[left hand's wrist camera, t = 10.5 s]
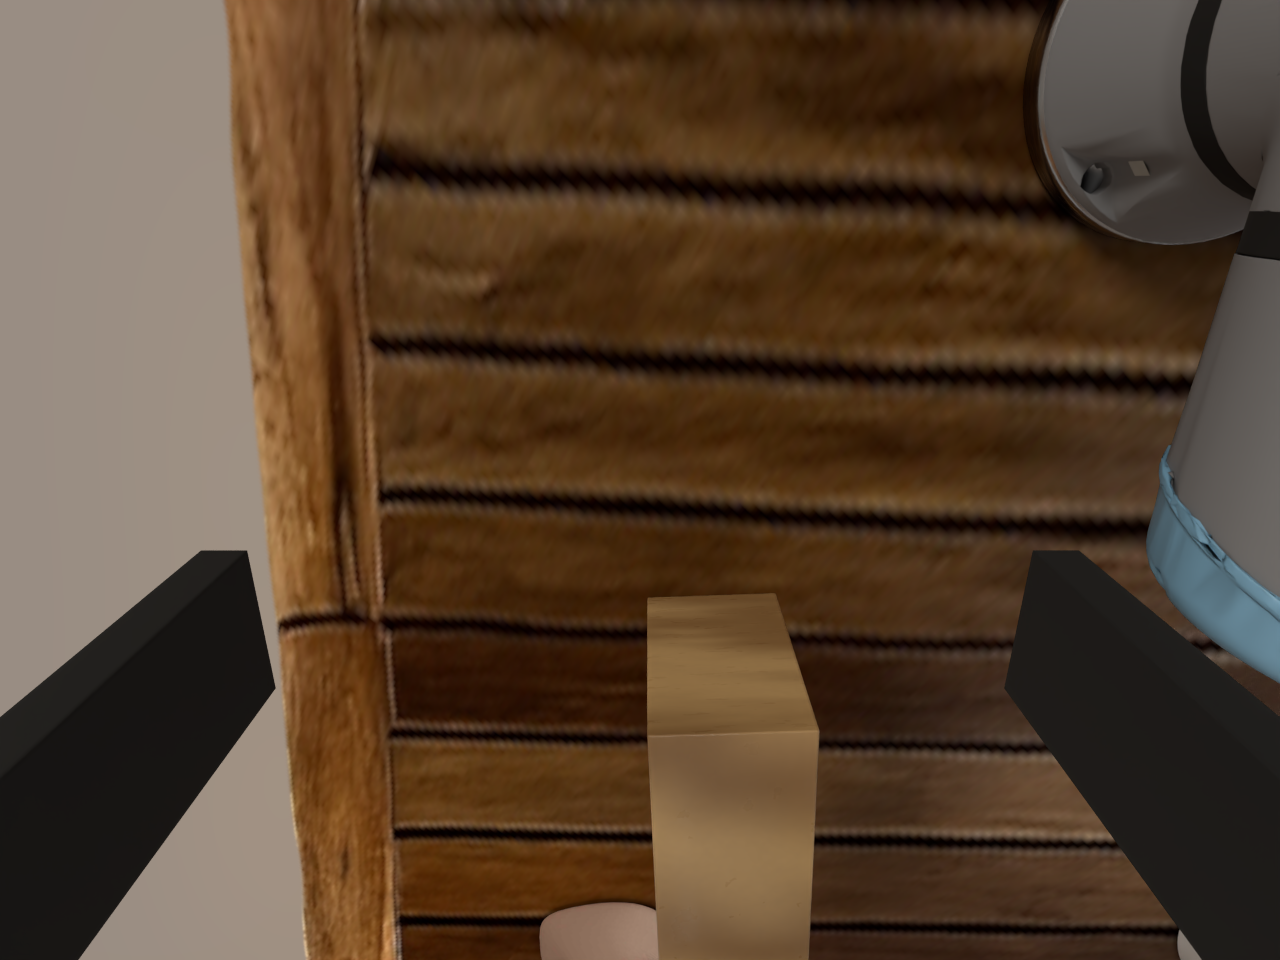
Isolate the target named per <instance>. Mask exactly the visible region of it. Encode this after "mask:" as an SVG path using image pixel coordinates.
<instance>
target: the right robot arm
mask: <svg viewBox="0 0 1280 960" xmlns="http://www.w3.org/2000/svg"><path fill="white" fill-rule="evenodd" d="M1177 946H1178V953H1179V957H1180V959H1181V960H1201V958H1200V957H1199V955H1198V954H1197V953H1196V951H1195V950H1194V948H1193V947H1192V946H1191V944H1190V943H1189V942H1188V940H1187V939H1186V937H1185V936H1184V935H1183V933H1182V932H1181V931H1180V930H1179V933H1178V941H1177Z"/></svg>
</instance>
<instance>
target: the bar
mask: <svg viewBox="0 0 1280 960" xmlns="http://www.w3.org/2000/svg"><path fill="white" fill-rule="evenodd" d="M647 740H648V759H649V779H650V799H651V818H652V838H653V858H654V878H655V897H656V917H657V937H658V956H659V960H809V939H810V918H811V897H812V877H813V856H814V835H815V814H816V793H817V772H818V751H819V728H818V725H817V722H816V719H815V716H814V712H813V709H812V706H811V703H810V700H809V697H808V694H807V690H806V687H805V684H804V681H803V678H802V675H801V672H800V669H799V665H798V662H797V659H796V656H795V653H794V650H793V647H792V643H791V640H790V637H789V634H788V631H787V628H786V625H785V621H784V618H783V615H782V612H781V609H780V606H779V603H778V599H777V596H776V594H775V593H770V594H741V595H712V596H683V597H654V598H648V599H647Z"/></svg>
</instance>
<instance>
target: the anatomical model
mask: <svg viewBox="0 0 1280 960" xmlns="http://www.w3.org/2000/svg"><path fill="white" fill-rule="evenodd" d="M540 949H541V957H542V960H659V956H658V937H657V917H656V910H654V909H652V908H649V907H646V906H643V905H640V904H635V903H626V902H608V903H596V904H588V905H582V906H577V907H572V908H568V909H564V910H560V911H557V912H555V913H553V914H550V915H549V916H548V917H546V918H545V919H544V921H543V922H542V924H541V928H540Z"/></svg>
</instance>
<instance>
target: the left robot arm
mask: <svg viewBox="0 0 1280 960" xmlns="http://www.w3.org/2000/svg"><path fill="white" fill-rule="evenodd" d="M1023 115H1024V127H1025V133H1026V140H1027V144H1028V147H1029V151H1030V155H1031V158H1032V160H1033V163H1034V166H1035V168H1036V171H1037V173H1038V175H1039V177H1040V179H1041V180H1042V182H1043V184H1044V186H1045V187H1046V189H1047V190H1048V192H1049V193H1050V195H1051V196H1052V197H1053V198H1054V199H1055V201H1056V202H1057V203H1058V204H1059V205H1060V206H1061V207H1062V208H1063V209H1064V210H1065V211H1066V212H1067V213H1068V214H1069V215H1070V216H1072V217H1073V218H1075V219H1076V220H1077V221H1079V222H1080V223H1081V224H1083V225H1085V226H1087V227H1089V228H1090V229H1092V230H1094V231H1097V232H1099V233H1102V234H1104V235H1106V236H1110V237H1114V238H1117V239H1121V240H1127V241H1134V242H1142V243H1151V244H1164V245H1181V244H1192V243H1199V242H1205V241H1209V240H1213V239H1217V238H1221V237H1224V236H1227V235H1230V234H1233V233H1235V232H1238V231H1240V230H1242V229H1244V230H1243V233H1242V236H1241V239H1240V242H1239V245H1238V248H1237V251H1236V253H1235V254H1234V256H1233V260H1232V263H1231V266H1230V269H1229V272H1228V275H1227V278H1226V281H1225V284H1224V287H1223V291H1222V294H1221V297H1220V300H1219V303H1218V306H1217V309H1216V312H1215V315H1214V318H1213V321H1212V325H1211V328H1210V331H1209V334H1208V337H1207V340H1206V343H1205V346H1204V349H1203V352H1202V356H1201V359H1200V362H1199V365H1198V368H1197V371H1196V374H1195V377H1194V380H1193V383H1192V387H1191V390H1190V393H1189V395H1188V398H1187V401H1186V404H1185V407H1184V410H1183V413H1182V415H1181V418H1180V421H1179V424H1178V427H1177V430H1176V433H1175V436H1174V438H1173V441H1172V444H1171V445H1169V446H1168V447H1167V449H1166V450H1165V452H1164V454H1163V457H1162V460H1161V462H1160V464H1159V478H1160V486H1159V490H1158V495H1157V499H1156V503H1155V507H1154V511H1153V515H1152V518H1151V522H1150V525H1149V529H1148V534H1147V540H1146V544H1147V548H1146V550H1147V556H1148V561H1149V565H1150V568H1151V570H1152V572H1153V574H1154V575H1155V577H1156V579H1157V581H1158V583H1159V584H1160V585H1161V586H1162V587H1163V588H1164V589H1165V591H1166V595H1167V596H1168V598H1169V600H1170V601H1171V602H1172V604H1173V605H1174V606H1175V607H1176V608H1177V609H1178V610H1179V611H1180V612H1181V613H1182V614H1183V615H1184V616H1185V617H1186V618H1187V619H1188V620H1189V621H1190V622H1191V623H1192V624H1193V625H1194V626H1195V627H1197V628H1198V629H1199V630H1200V631H1201V632H1203V633H1204V634H1205V635H1206V636H1207V637H1209V638H1210V639H1211V640H1213V641H1214V642H1215V643H1216V644H1218V645H1219V646H1220V647H1222V648H1223V649H1225V650H1226V651H1228V652H1229V653H1230V654H1232V655H1233V656H1235V657H1237V658H1238V659H1240V660H1241V661H1243V662H1244V663H1246V664H1248V665H1249V666H1251V667H1252V668H1254V669H1256V670H1257V671H1259V672H1261V673H1262V674H1264V675H1266V676H1268V677H1269V678H1271V679H1273V680H1275V681H1276V682H1278V683H1280V0H1050V2H1049V4H1048V6H1047V8H1046V10H1045V12H1044V14H1043V16H1042V19H1041V21H1040V24H1039V26H1038V29H1037V32H1036V34H1035V37H1034V40H1033V44H1032V47H1031V51H1030V54H1029V59H1028V64H1027V68H1026V74H1025V82H1024V93H1023ZM274 690H275V683H274V678H273V673H272V668H271V664H270V659H269V654H268V649H267V644H266V640H265V635H264V630H263V625H262V620H261V616H260V611H259V606H258V601H257V596H256V591H255V587H254V582H253V577H252V572H251V568H250V563H249V558H248V553H247V551H200V552H199V553H198V554H196V555H195V556H194V557H193V558H192V559H190V560H189V561H188V562H187V563H186V564H184V565H183V566H182V567H181V568H180V569H178V570H177V571H176V572H175V573H174V574H172V575H171V576H170V577H169V578H168V579H166V580H165V581H164V582H163V583H161V584H160V585H159V586H158V587H157V588H155V589H154V590H153V591H152V592H151V593H149V594H148V595H147V596H146V597H145V598H143V599H142V600H141V601H140V602H139V603H137V604H136V605H135V606H134V607H132V608H131V609H130V610H129V611H128V612H126V613H125V614H124V615H123V616H122V617H120V618H119V619H118V620H117V621H116V622H114V623H113V624H112V625H111V626H110V627H108V628H107V629H106V630H105V631H104V632H102V633H101V634H100V635H99V636H98V637H96V638H95V639H94V640H93V641H91V642H90V643H89V644H88V645H87V646H85V647H84V648H83V649H82V650H81V651H79V652H78V653H77V654H76V655H75V656H73V657H72V658H71V659H70V660H69V661H67V662H66V663H65V664H64V665H63V666H61V667H60V668H59V669H58V670H57V671H55V672H54V673H53V674H52V675H51V676H49V677H48V678H47V679H46V680H44V681H43V682H42V683H41V684H40V685H38V686H37V687H36V688H35V689H34V690H32V691H31V692H30V693H29V694H28V695H26V696H25V697H24V698H23V699H22V700H20V701H19V702H18V703H17V704H16V705H14V706H13V707H12V708H11V709H9V710H8V711H7V712H6V713H5V714H3V715H2V716H1V717H0V960H78V959H79V958H80V957H81V955H82V954H83V953H84V951H85V950H86V948H87V947H88V946H89V944H90V943H91V941H92V940H93V939H94V937H95V936H96V935H97V933H98V932H99V931H100V929H101V928H102V926H103V925H104V924H105V922H106V921H107V920H108V918H109V917H110V915H111V914H112V913H113V911H114V910H115V909H116V907H117V906H118V904H119V903H120V902H121V900H122V899H123V898H124V896H125V895H126V893H127V892H128V891H129V889H130V888H131V886H132V885H133V884H134V882H135V881H136V880H137V878H138V877H139V876H140V874H141V873H142V871H143V870H144V869H145V867H146V866H147V865H148V863H149V862H150V860H151V859H152V858H153V856H154V855H155V854H156V852H157V851H158V849H159V848H160V847H161V845H162V844H163V843H164V841H165V840H166V838H167V837H168V836H169V834H170V833H171V831H172V830H173V829H174V827H175V826H176V825H177V823H178V822H179V821H180V819H181V818H182V816H183V815H184V814H185V812H186V811H187V809H188V808H189V807H190V805H191V804H192V803H193V801H194V800H195V798H196V797H197V796H198V794H199V793H200V792H201V790H202V789H203V787H204V786H205V785H206V783H207V782H208V780H209V779H210V778H211V776H212V775H213V774H214V772H215V771H216V770H217V768H218V767H219V765H220V764H221V763H222V761H223V760H224V759H225V757H226V756H227V754H228V753H229V752H230V750H231V749H232V748H233V746H234V745H235V743H236V742H237V741H238V739H239V738H240V737H241V735H242V734H243V732H244V731H245V730H246V728H247V727H248V726H249V724H250V723H251V721H252V720H253V719H254V717H255V716H256V714H257V713H258V712H259V710H260V709H261V708H262V706H263V705H264V703H265V702H266V701H267V699H268V698H269V697H270V695H271V694H272V692H273V691H274ZM1005 690H1006V691H1007V693H1008V694H1009V695H1010V697H1011V698H1012V699H1013V701H1014V702H1015V704H1016V705H1017V706H1018V708H1019V709H1020V710H1021V712H1022V713H1023V715H1024V716H1025V717H1026V719H1027V720H1028V721H1029V723H1030V724H1031V726H1032V727H1033V728H1034V730H1035V731H1036V732H1037V734H1038V735H1039V737H1040V738H1041V739H1042V741H1043V742H1044V743H1045V745H1046V746H1047V748H1048V749H1049V750H1050V752H1051V753H1052V754H1053V756H1054V757H1055V759H1056V760H1057V761H1058V763H1059V764H1060V765H1061V767H1062V768H1063V770H1064V771H1065V772H1066V774H1067V775H1068V776H1069V778H1070V779H1071V781H1072V782H1073V783H1074V785H1075V786H1076V787H1077V789H1078V790H1079V792H1080V793H1081V794H1082V796H1083V797H1084V798H1085V800H1086V801H1087V803H1088V804H1089V805H1090V807H1091V808H1092V809H1093V811H1094V812H1095V814H1096V815H1097V816H1098V818H1099V819H1100V821H1101V822H1102V823H1103V825H1104V826H1105V827H1106V829H1107V830H1108V832H1109V833H1110V834H1111V836H1112V837H1113V838H1114V840H1115V841H1116V843H1117V844H1118V845H1119V847H1120V848H1121V849H1122V851H1123V852H1124V854H1125V855H1126V856H1127V858H1128V859H1129V860H1130V862H1131V863H1132V865H1133V866H1134V867H1135V869H1136V870H1137V871H1138V873H1139V874H1140V876H1141V877H1142V878H1143V880H1144V881H1145V882H1146V884H1147V885H1148V887H1149V888H1150V889H1151V891H1152V892H1153V893H1154V895H1155V896H1156V898H1157V899H1158V900H1159V902H1160V903H1161V904H1162V906H1163V907H1164V909H1165V910H1166V911H1167V913H1168V914H1169V915H1170V917H1171V918H1172V920H1173V921H1174V922H1175V924H1176V925H1177V926H1178V928H1179V929H1180V931H1181V932H1182V933H1183V935H1184V936H1185V937H1186V939H1187V940H1188V942H1189V943H1190V944H1191V946H1192V947H1193V948H1194V950H1195V951H1196V953H1197V954H1198V955H1199V957H1200V958H1201V960H1280V717H1279V716H1278V715H1277V714H1275V713H1274V712H1273V711H1272V710H1271V709H1269V708H1268V707H1267V706H1266V705H1264V704H1263V703H1262V702H1261V701H1260V700H1258V699H1257V698H1256V697H1255V696H1254V695H1252V694H1251V693H1250V692H1249V691H1248V690H1246V689H1245V688H1244V687H1243V686H1242V685H1240V684H1239V683H1238V682H1237V681H1236V680H1234V679H1233V678H1232V677H1231V676H1230V675H1228V674H1227V673H1226V672H1225V671H1223V670H1222V669H1221V668H1220V667H1219V666H1217V665H1216V664H1215V663H1214V662H1213V661H1211V660H1210V659H1209V658H1208V657H1207V656H1205V655H1204V654H1203V653H1202V652H1201V651H1199V650H1198V649H1197V648H1196V647H1195V646H1193V645H1192V644H1191V643H1190V642H1189V641H1187V640H1186V639H1185V638H1184V637H1182V636H1181V635H1180V634H1179V633H1178V632H1176V631H1175V630H1174V629H1173V628H1172V627H1170V626H1169V625H1168V624H1167V623H1166V622H1164V621H1163V620H1162V619H1161V618H1160V617H1158V616H1157V615H1156V614H1155V613H1154V612H1152V611H1151V610H1150V609H1149V608H1148V607H1146V606H1145V605H1144V604H1143V603H1141V602H1140V601H1139V600H1138V599H1137V598H1135V597H1134V596H1133V595H1132V594H1131V593H1129V592H1128V591H1127V590H1126V589H1125V588H1123V587H1122V586H1121V585H1120V584H1119V583H1117V582H1116V581H1115V580H1114V579H1113V578H1111V577H1110V576H1109V575H1108V574H1106V573H1105V572H1104V571H1103V570H1102V569H1100V568H1099V567H1098V566H1097V565H1096V564H1094V563H1093V562H1092V561H1091V560H1090V559H1088V558H1087V557H1086V556H1085V555H1084V554H1082V553H1081V552H1080V551H1033V553H1032V558H1031V563H1030V567H1029V572H1028V577H1027V582H1026V587H1025V591H1024V596H1023V601H1022V606H1021V611H1020V616H1019V620H1018V625H1017V630H1016V635H1015V640H1014V644H1013V649H1012V654H1011V659H1010V664H1009V668H1008V673H1007V678H1006V683H1005Z"/></svg>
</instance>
